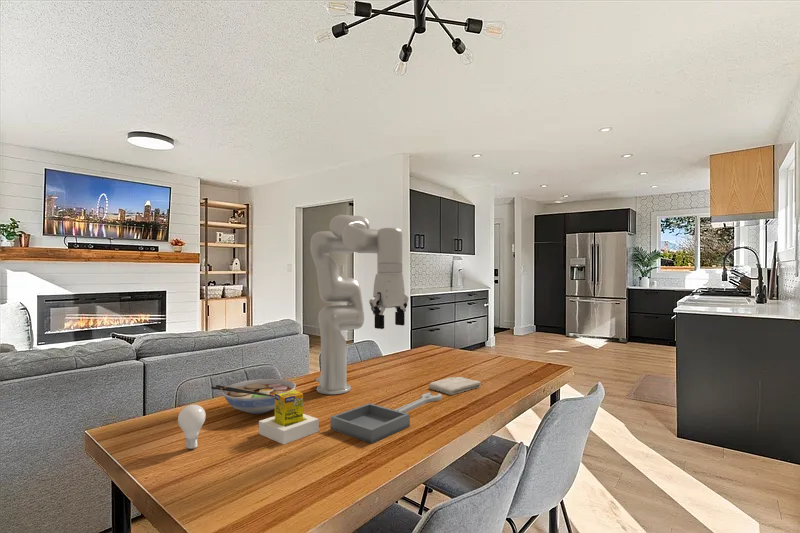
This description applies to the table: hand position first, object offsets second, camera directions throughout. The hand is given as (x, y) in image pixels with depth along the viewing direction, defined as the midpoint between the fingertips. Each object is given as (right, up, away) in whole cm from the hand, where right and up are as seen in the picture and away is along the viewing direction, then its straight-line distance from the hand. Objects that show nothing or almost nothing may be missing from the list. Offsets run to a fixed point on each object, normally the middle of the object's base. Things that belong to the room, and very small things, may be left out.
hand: (389, 326), depth 127 cm
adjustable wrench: (+8, -29, +15) cm, 34 cm away
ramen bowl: (-42, -29, +10) cm, 52 cm away
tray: (-5, -28, -6) cm, 29 cm away
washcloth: (+24, -29, +36) cm, 52 cm away
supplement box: (-28, -28, -9) cm, 41 cm away
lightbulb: (-50, -28, -20) cm, 60 cm away
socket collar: (-28, -28, -9) cm, 41 cm away
